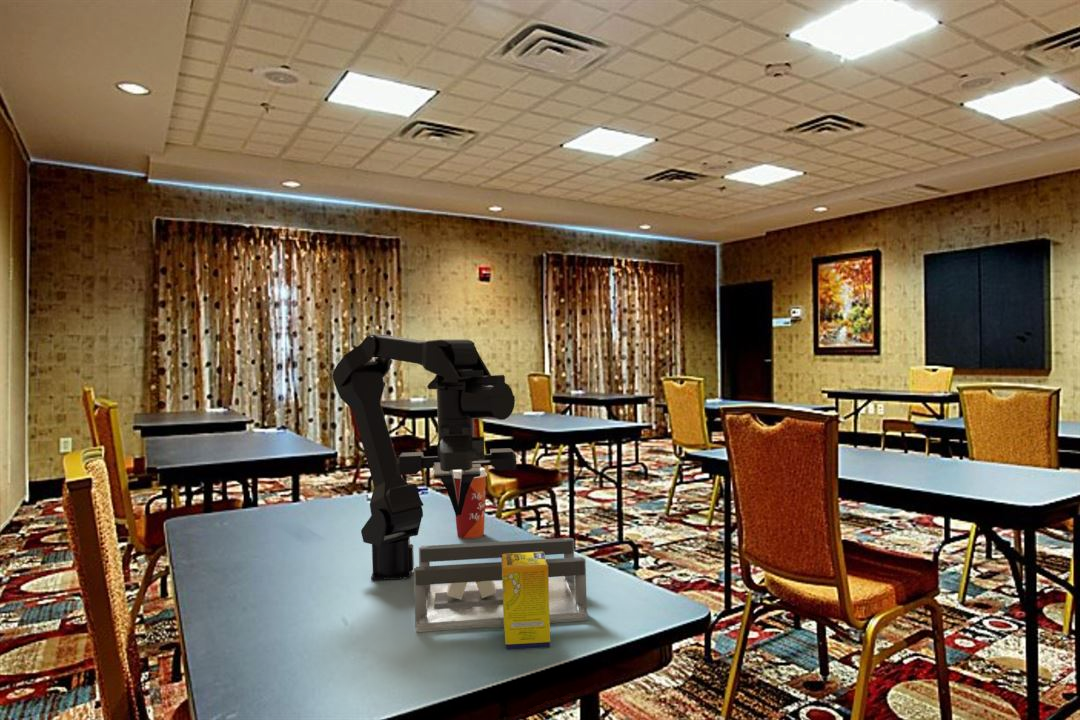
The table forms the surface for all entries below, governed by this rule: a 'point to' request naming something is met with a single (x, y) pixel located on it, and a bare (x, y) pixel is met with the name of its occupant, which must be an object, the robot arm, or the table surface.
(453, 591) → the paddle on
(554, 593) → the panel
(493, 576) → the gray bar rack
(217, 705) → the table surface
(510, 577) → the supplement box
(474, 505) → the paper cup
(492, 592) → the paddle
